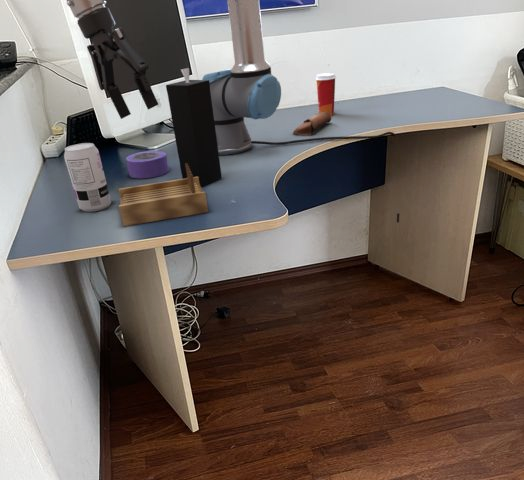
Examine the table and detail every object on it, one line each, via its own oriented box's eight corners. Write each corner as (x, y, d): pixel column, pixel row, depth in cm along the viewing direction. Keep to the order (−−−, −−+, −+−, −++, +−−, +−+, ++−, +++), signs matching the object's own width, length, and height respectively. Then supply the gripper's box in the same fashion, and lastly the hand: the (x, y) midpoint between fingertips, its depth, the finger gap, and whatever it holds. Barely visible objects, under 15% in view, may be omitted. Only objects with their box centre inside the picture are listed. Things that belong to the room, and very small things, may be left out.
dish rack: (201, 194, 136) (195, 160, 131) (208, 212, 124) (202, 174, 120) (123, 207, 133) (114, 172, 128) (123, 226, 122) (114, 188, 117)
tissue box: (202, 175, 151) (185, 65, 135) (222, 178, 146) (207, 65, 130) (182, 183, 146) (162, 70, 130) (202, 186, 141) (184, 70, 126)
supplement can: (74, 208, 136) (56, 148, 127) (102, 199, 140) (86, 140, 132) (89, 215, 131) (71, 152, 122) (118, 205, 135) (102, 144, 127)
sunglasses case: (309, 121, 194) (317, 104, 190) (325, 131, 194) (333, 115, 189) (291, 133, 181) (299, 115, 176) (308, 144, 181) (316, 127, 176)
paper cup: (326, 111, 209) (325, 72, 201) (340, 113, 203) (340, 73, 196) (312, 115, 205) (310, 75, 197) (326, 117, 200) (325, 76, 192)
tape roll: (176, 167, 160) (173, 150, 157) (155, 179, 151) (152, 161, 149) (143, 166, 164) (140, 150, 162) (122, 178, 156) (117, 161, 153)
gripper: (56, 34, 121) (104, 126, 132) (101, -1, 103) (153, 109, 113) (83, 23, 124) (127, 114, 135) (131, -12, 106) (178, 96, 117)
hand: (139, 112), depth 124 cm, fingers open, 13 cm apart
